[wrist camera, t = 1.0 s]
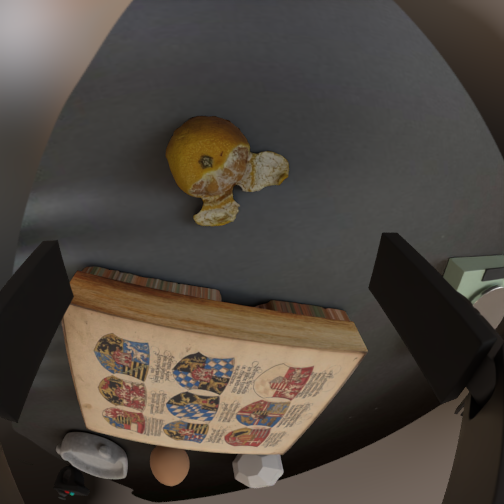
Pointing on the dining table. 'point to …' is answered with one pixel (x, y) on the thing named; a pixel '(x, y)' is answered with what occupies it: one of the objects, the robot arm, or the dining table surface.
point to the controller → (70, 483)
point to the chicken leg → (257, 469)
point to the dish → (94, 455)
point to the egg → (169, 464)
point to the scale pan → (491, 304)
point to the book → (202, 364)
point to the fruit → (219, 166)
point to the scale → (474, 274)
